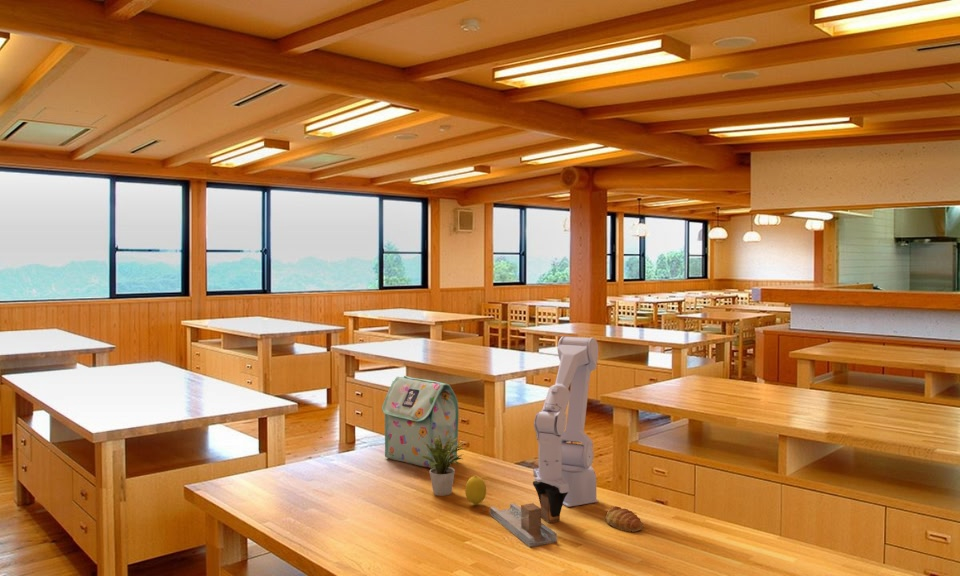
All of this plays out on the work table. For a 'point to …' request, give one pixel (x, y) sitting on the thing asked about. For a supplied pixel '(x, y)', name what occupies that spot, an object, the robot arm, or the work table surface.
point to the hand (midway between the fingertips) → (550, 512)
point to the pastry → (623, 519)
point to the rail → (516, 528)
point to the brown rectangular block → (547, 510)
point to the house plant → (442, 466)
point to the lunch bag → (419, 419)
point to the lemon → (475, 490)
